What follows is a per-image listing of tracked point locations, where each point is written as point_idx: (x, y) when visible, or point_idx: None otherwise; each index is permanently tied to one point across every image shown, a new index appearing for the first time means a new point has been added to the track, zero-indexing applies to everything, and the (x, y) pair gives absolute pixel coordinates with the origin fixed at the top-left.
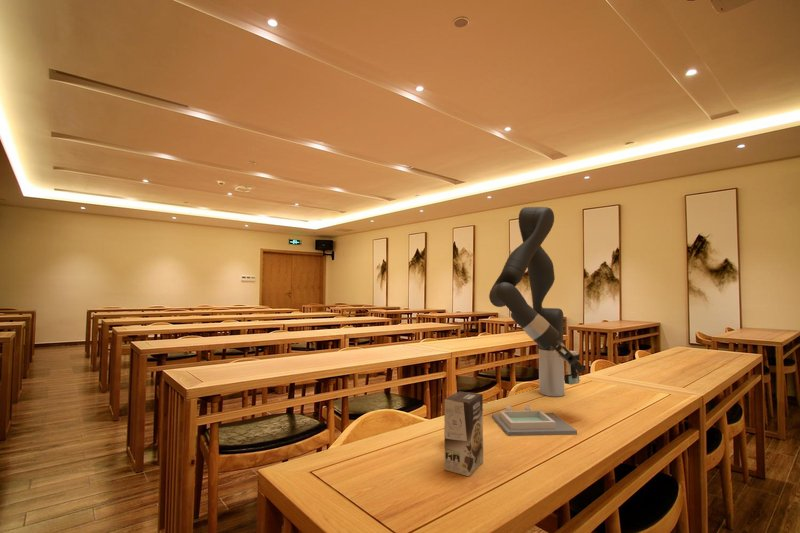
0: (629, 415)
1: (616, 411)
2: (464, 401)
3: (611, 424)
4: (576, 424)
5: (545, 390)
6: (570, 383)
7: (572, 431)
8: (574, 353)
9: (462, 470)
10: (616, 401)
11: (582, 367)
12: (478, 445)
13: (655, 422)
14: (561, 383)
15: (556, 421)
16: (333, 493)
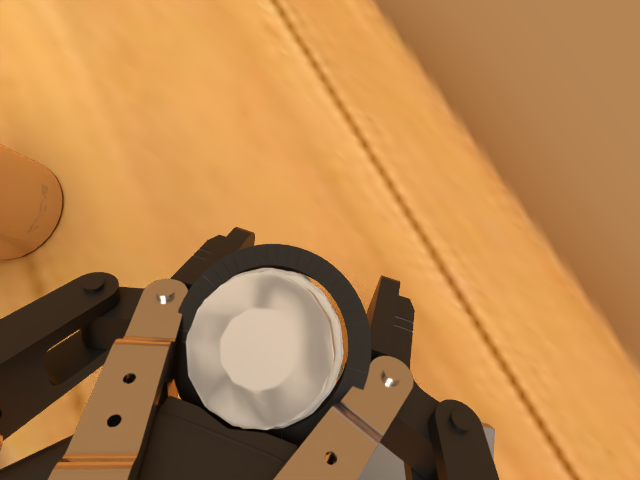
0: (332, 98)
1: (283, 111)
2: None
3: (408, 223)
4: None
5: (10, 248)
6: (342, 367)
7: (491, 448)
8: (332, 346)
9: None
10: (182, 36)
11: (413, 312)
12: None
13: (414, 66)
14: (15, 172)
15: (380, 447)
16: None
